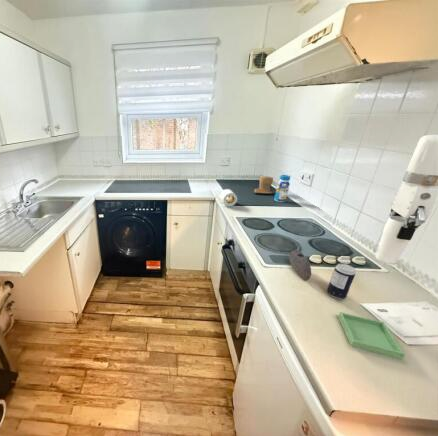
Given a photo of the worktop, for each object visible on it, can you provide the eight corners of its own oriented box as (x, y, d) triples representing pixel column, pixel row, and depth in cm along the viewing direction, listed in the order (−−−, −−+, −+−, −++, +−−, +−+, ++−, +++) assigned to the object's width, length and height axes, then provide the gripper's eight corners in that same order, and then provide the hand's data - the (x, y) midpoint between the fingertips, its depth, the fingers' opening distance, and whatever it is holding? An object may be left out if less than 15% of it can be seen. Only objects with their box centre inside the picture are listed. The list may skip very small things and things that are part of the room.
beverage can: (348, 301, 83) (359, 273, 79) (329, 298, 85) (339, 270, 81) (342, 291, 88) (352, 264, 84) (324, 288, 90) (333, 261, 86)
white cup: (403, 267, 76) (424, 225, 70) (377, 263, 78) (395, 222, 72) (392, 257, 82) (410, 217, 76) (367, 253, 84) (384, 214, 78)
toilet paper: (219, 201, 185) (220, 189, 181) (232, 201, 185) (234, 189, 181) (222, 205, 176) (224, 193, 172) (236, 206, 176) (238, 193, 172)
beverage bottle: (276, 198, 192) (281, 173, 185) (287, 200, 187) (293, 175, 179) (272, 200, 187) (277, 175, 179) (283, 203, 181) (289, 177, 174)
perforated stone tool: (313, 284, 92) (318, 269, 90) (298, 282, 93) (303, 267, 91) (299, 263, 106) (303, 249, 103) (286, 261, 107) (289, 248, 104)
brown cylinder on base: (269, 191, 211) (272, 174, 205) (273, 195, 200) (277, 177, 194) (251, 190, 213) (254, 174, 207) (254, 194, 202) (257, 177, 196)
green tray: (381, 326, 74) (383, 322, 73) (402, 359, 63) (405, 354, 63) (337, 316, 77) (339, 311, 77) (351, 346, 67) (353, 341, 67)
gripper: (461, 188, 60) (429, 248, 67) (421, 174, 75) (398, 225, 82) (422, 185, 63) (395, 244, 70) (390, 172, 78) (371, 222, 85)
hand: (397, 233), depth 76 cm, fingers closed on white cup, 6 cm apart
